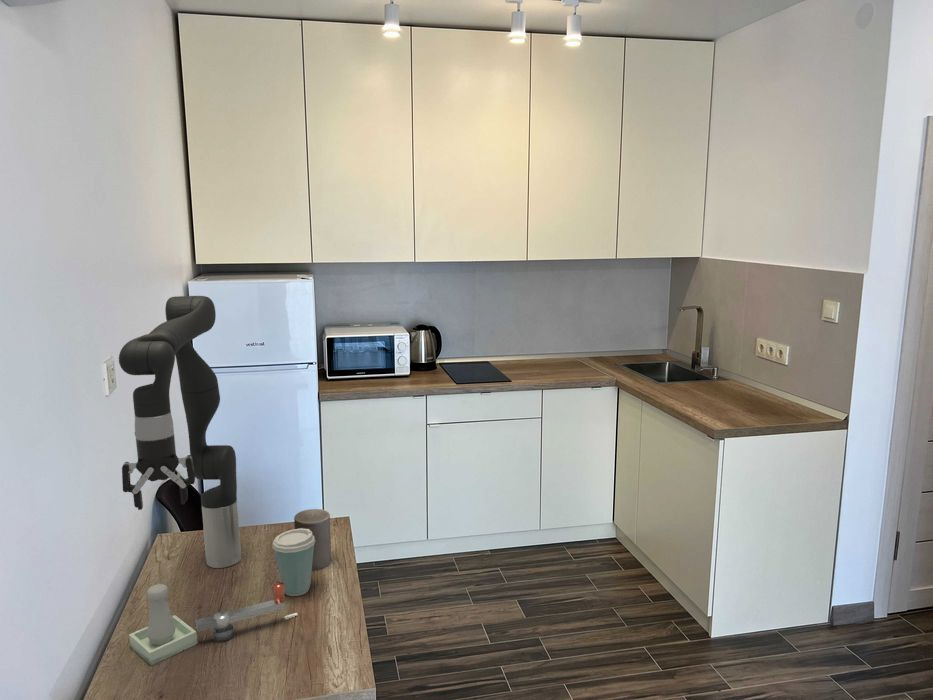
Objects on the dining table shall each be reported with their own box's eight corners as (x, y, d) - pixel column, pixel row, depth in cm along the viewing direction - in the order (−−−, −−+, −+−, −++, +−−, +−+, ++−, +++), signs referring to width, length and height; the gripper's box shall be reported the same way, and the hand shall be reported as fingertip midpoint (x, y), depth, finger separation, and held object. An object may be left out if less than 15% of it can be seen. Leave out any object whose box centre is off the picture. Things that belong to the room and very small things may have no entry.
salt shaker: (166, 650, 153) (160, 595, 150) (142, 647, 154) (136, 592, 152) (181, 634, 158) (176, 581, 156) (158, 632, 159) (153, 579, 157)
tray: (130, 646, 156) (129, 634, 155) (175, 626, 163) (174, 615, 163) (151, 665, 149) (149, 652, 148) (197, 643, 157) (196, 631, 156)
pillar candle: (289, 568, 191) (286, 516, 188) (306, 552, 200) (304, 502, 197) (322, 572, 188) (319, 520, 185) (338, 556, 197) (336, 506, 195)
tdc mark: (285, 619, 166) (285, 617, 166) (284, 618, 166) (284, 616, 166) (297, 616, 167) (297, 614, 167) (296, 614, 168) (296, 612, 168)
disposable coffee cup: (276, 604, 173) (272, 547, 170) (273, 583, 183) (270, 529, 180) (320, 596, 176) (317, 540, 173) (315, 576, 186) (312, 523, 183)
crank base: (209, 637, 159) (209, 629, 159) (227, 628, 162) (226, 620, 162) (219, 644, 156) (218, 636, 156) (237, 636, 159) (236, 627, 159)
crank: (198, 638, 155) (195, 609, 154) (196, 630, 158) (193, 602, 157) (287, 614, 164) (285, 586, 163) (283, 606, 167) (281, 580, 166)
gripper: (191, 426, 155) (197, 495, 158) (120, 432, 151) (128, 503, 154) (189, 435, 148) (195, 507, 151) (115, 442, 144) (123, 517, 147)
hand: (161, 505), depth 152 cm, fingers open, 8 cm apart
